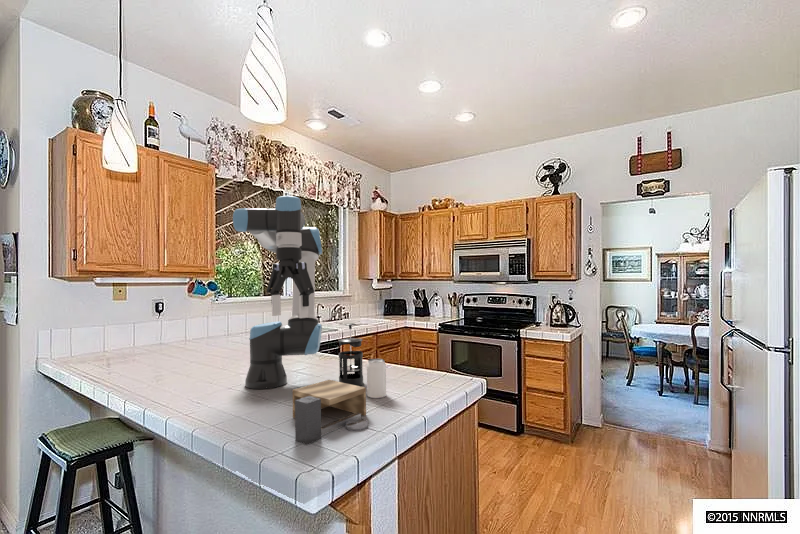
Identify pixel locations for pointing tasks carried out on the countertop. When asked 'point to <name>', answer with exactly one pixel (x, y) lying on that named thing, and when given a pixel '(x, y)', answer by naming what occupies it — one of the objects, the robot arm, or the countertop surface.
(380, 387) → the can
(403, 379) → the countertop surface
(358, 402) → the shelf
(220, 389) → the countertop surface
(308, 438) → the tool
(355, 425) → the disc
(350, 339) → the french press
